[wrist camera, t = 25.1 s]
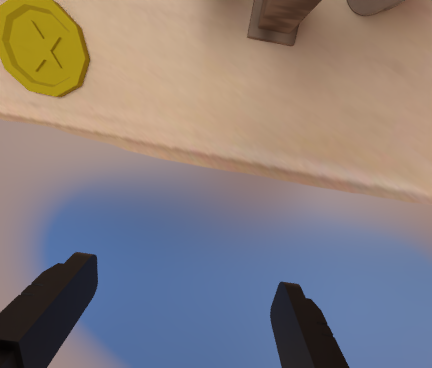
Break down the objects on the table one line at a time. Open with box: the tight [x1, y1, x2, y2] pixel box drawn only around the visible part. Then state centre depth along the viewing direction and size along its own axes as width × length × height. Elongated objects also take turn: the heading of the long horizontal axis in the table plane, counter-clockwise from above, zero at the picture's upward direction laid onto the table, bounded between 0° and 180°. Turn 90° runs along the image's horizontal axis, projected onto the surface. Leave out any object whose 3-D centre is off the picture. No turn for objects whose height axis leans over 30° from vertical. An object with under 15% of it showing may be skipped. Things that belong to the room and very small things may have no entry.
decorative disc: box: [0, 0, 90, 97], centre depth 43 cm, size 17×18×2 cm
